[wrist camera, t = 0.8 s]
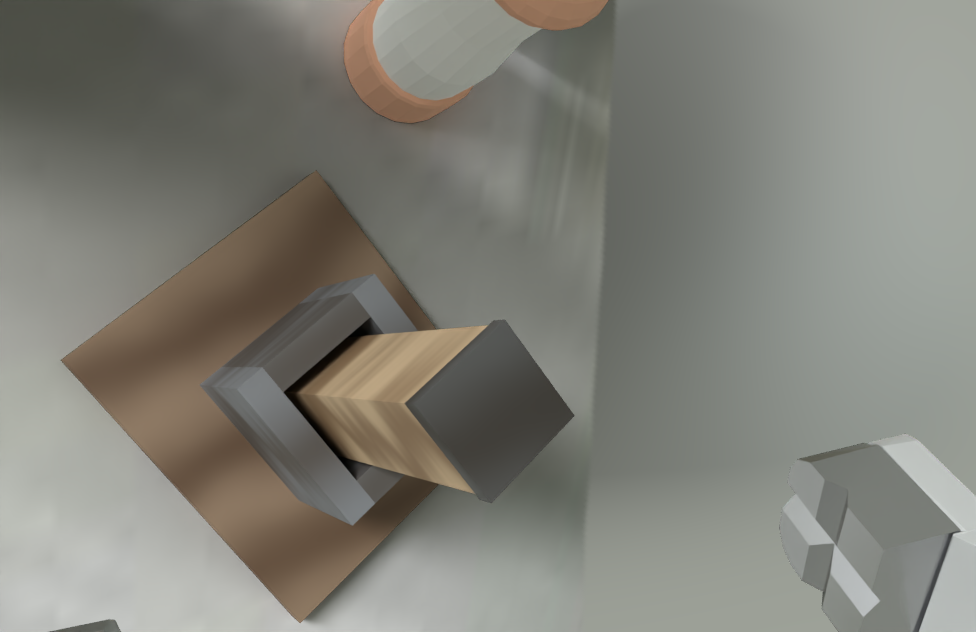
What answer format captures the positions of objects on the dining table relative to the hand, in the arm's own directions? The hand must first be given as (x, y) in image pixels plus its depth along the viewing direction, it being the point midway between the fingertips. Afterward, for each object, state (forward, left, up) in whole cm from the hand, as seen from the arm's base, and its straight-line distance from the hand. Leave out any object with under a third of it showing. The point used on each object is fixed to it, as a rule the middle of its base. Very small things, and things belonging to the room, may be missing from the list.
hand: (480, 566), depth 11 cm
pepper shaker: (-6, +24, -39) cm, 46 cm away
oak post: (+5, +7, -37) cm, 38 cm away
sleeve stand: (+5, +7, -39) cm, 40 cm away
